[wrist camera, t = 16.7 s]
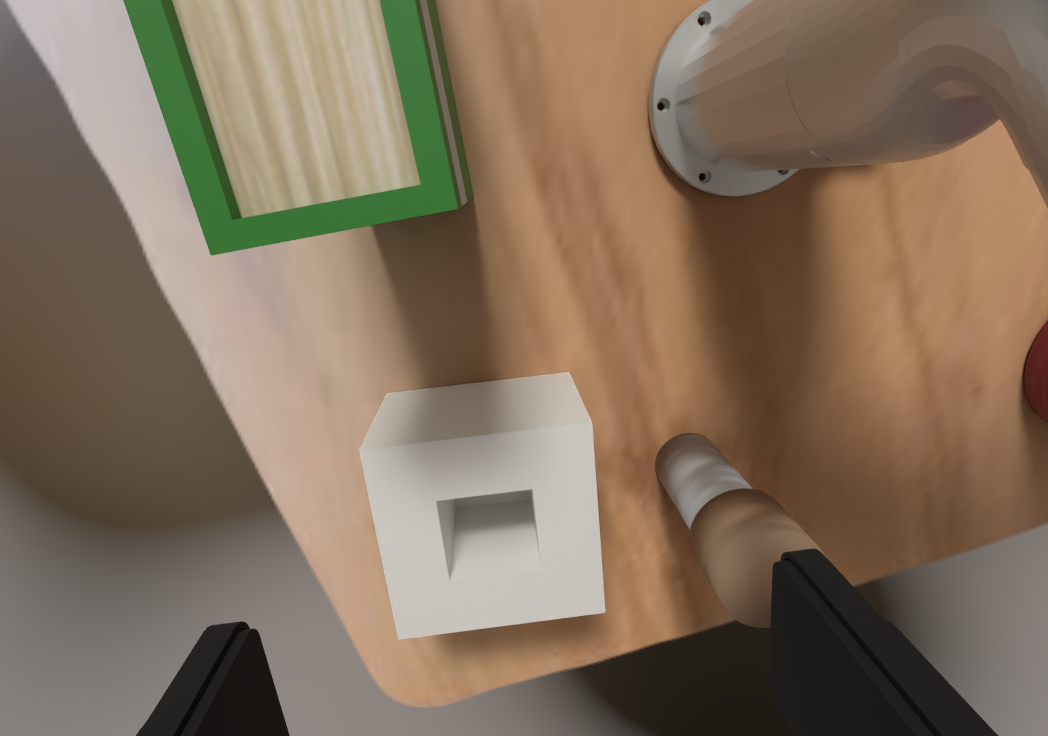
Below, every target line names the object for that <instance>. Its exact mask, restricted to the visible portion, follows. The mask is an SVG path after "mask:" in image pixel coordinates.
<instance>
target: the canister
mask: <svg viewBox="0 0 1048 736" xmlns="http://www.w3.org/2000/svg"><path fill="white" fill-rule="evenodd" d="M1025 390H1026V394H1027V397H1028V400H1029V402H1030V404H1031V406H1032V408H1033V409H1034V411H1035V412H1036V413H1037V414H1038V415H1039V416H1040V417H1041V418H1042V419H1044V420H1045V421H1047V422H1048V322H1047V323H1046V324H1045V326H1044V327H1043V328H1042V330H1041V331H1040V333H1039V334H1038V336H1037V338H1036V339H1035V341H1034V343H1033V345H1032V348H1031V350H1030V353H1029V356H1028V359H1027V363H1026V368H1025Z"/></svg>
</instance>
